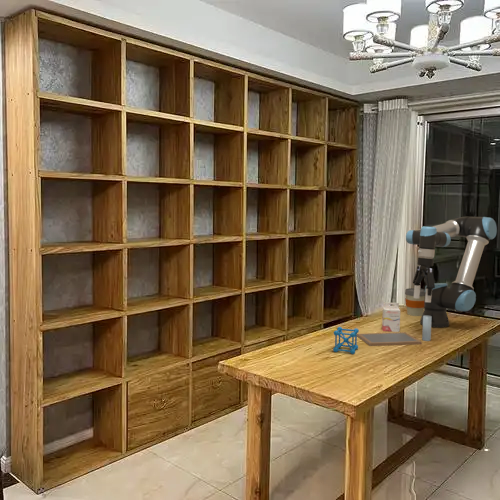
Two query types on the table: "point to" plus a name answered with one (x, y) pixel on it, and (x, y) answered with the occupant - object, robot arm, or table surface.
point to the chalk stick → (426, 328)
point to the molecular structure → (346, 340)
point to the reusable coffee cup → (414, 302)
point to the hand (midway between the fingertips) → (421, 300)
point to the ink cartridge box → (391, 317)
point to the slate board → (388, 339)
